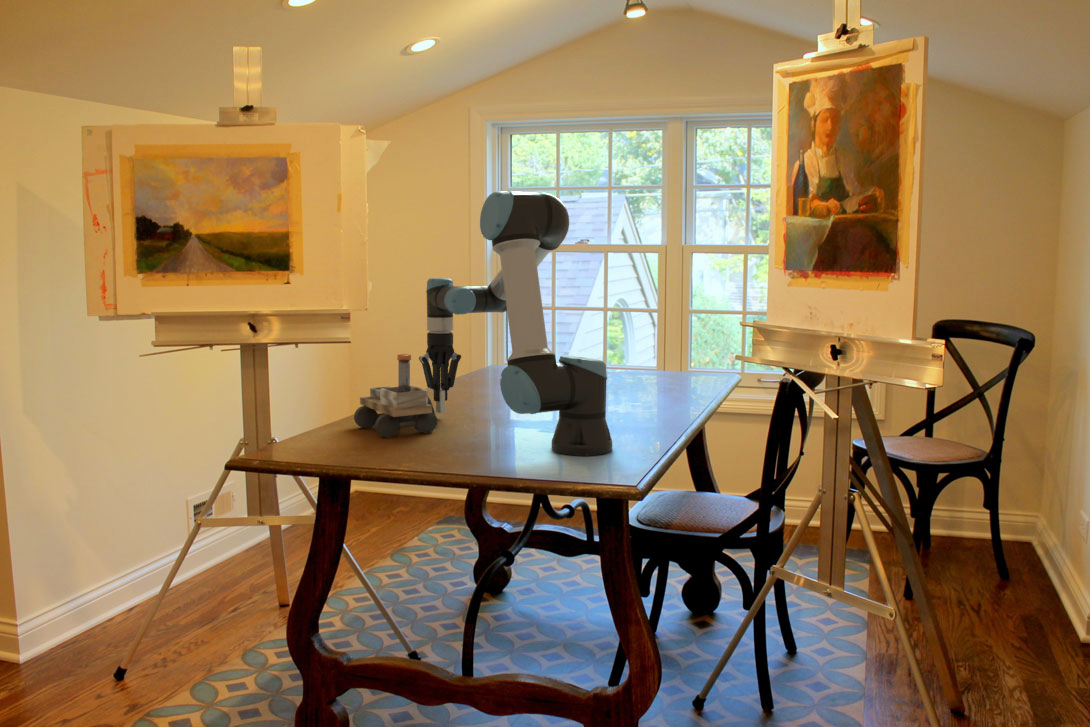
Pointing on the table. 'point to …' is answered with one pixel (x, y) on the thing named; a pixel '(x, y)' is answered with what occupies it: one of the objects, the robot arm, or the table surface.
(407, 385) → the pin
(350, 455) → the table surface
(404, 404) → the cart
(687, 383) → the table surface
